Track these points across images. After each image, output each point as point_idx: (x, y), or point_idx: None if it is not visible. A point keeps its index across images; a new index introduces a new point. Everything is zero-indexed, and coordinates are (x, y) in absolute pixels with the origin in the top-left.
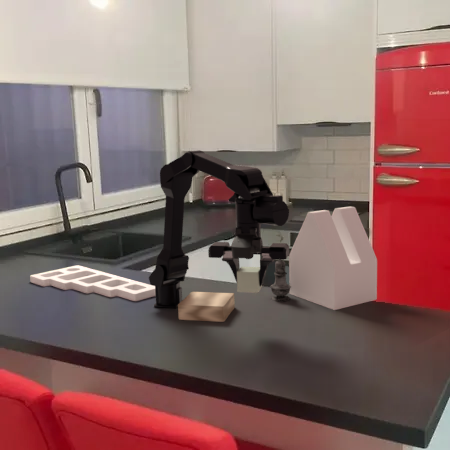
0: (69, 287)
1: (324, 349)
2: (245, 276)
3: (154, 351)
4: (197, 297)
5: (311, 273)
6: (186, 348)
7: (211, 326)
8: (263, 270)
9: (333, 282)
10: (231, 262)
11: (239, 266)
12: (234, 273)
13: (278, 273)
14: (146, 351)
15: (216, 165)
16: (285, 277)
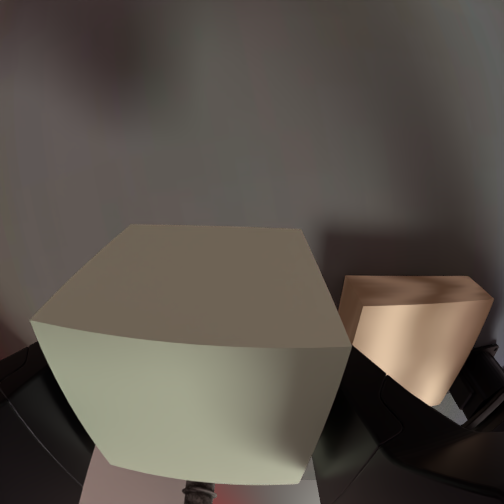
0: None
1: (6, 91)
2: (208, 300)
3: (476, 20)
4: (436, 371)
5: (111, 477)
6: (413, 19)
7: (382, 225)
8: (10, 366)
9: None
10: (482, 459)
11: (317, 480)
12: (368, 372)
13: (200, 492)
14: (490, 26)
15: None
16: (186, 482)
